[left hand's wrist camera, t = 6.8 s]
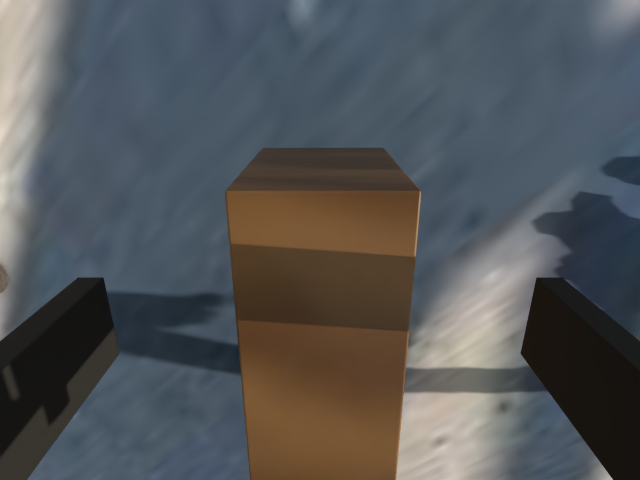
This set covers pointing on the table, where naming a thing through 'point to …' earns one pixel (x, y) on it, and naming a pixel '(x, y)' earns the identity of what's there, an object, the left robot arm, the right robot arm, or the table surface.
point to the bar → (323, 309)
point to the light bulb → (3, 278)
